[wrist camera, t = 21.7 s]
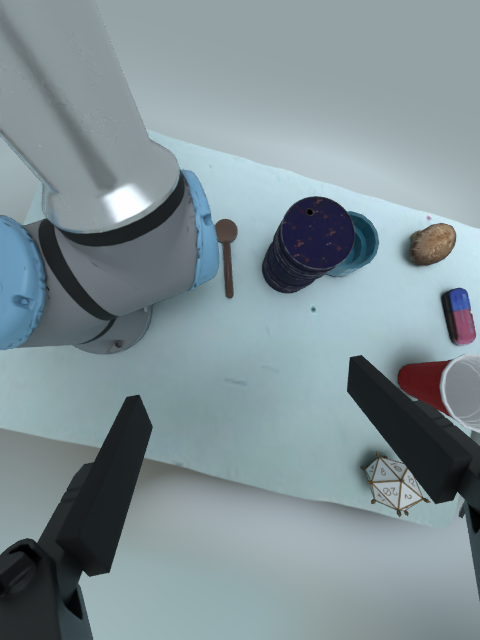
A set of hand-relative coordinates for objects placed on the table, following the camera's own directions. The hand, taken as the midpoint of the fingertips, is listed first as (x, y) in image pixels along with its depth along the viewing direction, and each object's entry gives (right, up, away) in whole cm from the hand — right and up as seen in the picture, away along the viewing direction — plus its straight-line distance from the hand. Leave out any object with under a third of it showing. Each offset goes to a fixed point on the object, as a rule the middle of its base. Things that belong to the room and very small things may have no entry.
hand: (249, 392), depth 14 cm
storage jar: (+8, +14, +29) cm, 34 cm away
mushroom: (+36, +18, +31) cm, 51 cm away
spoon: (-3, +17, +29) cm, 33 cm away
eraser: (+42, +5, +31) cm, 52 cm away
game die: (+24, -23, +27) cm, 43 cm away
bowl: (+18, +18, +30) cm, 40 cm away
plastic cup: (+32, -7, +29) cm, 44 cm away
